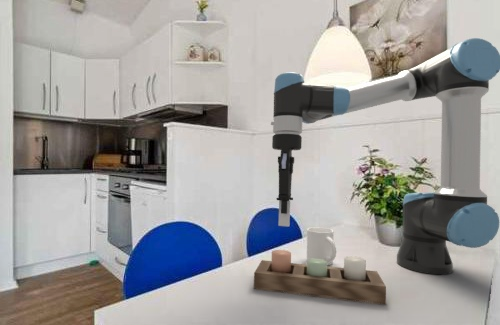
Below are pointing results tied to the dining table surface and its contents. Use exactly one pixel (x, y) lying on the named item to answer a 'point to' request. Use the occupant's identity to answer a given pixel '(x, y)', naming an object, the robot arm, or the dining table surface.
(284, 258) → the peach rounded piece
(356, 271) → the white short cylinder
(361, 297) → the wooden compartment tray
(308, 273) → the pale green rounded piece
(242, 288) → the dining table surface
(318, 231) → the mug
